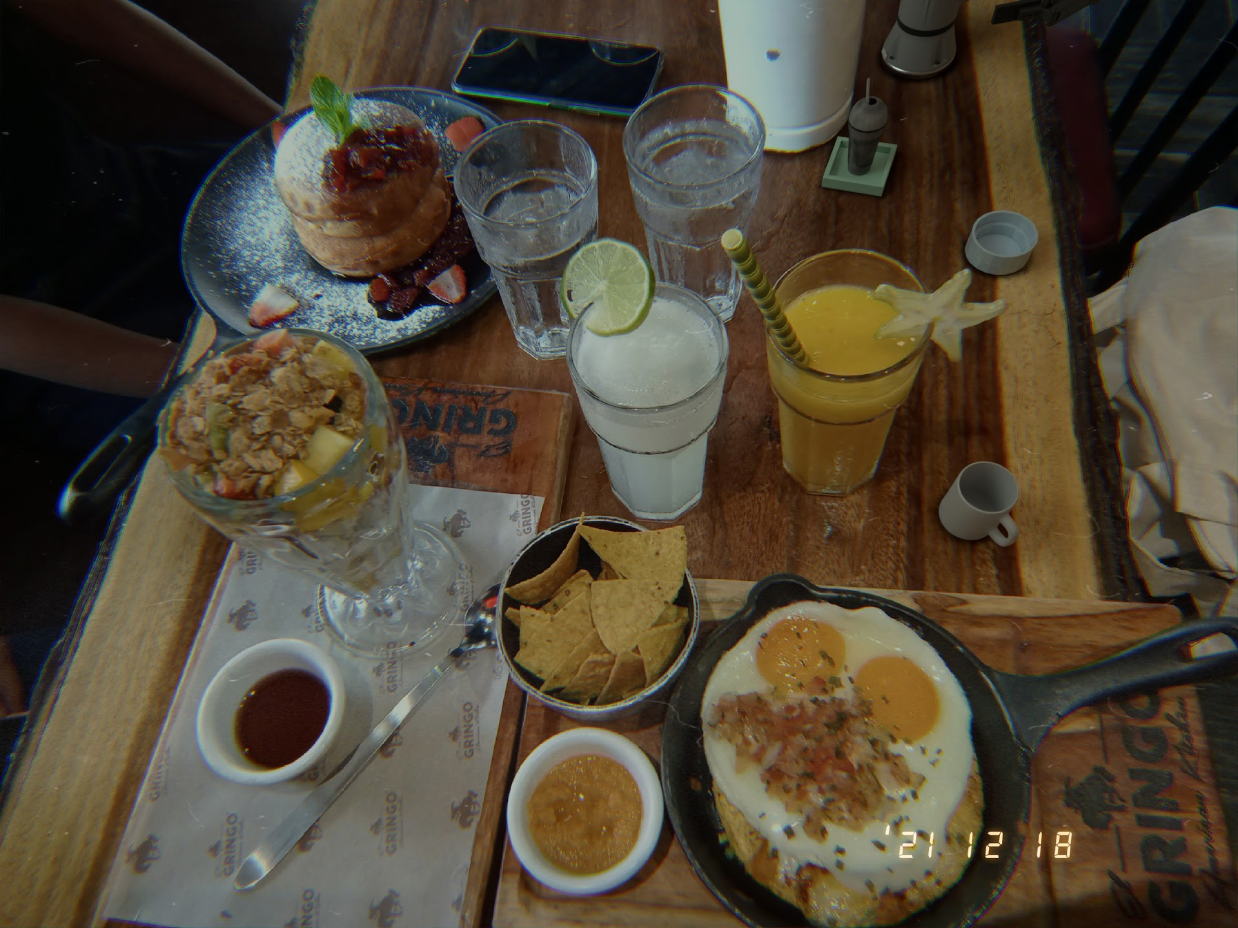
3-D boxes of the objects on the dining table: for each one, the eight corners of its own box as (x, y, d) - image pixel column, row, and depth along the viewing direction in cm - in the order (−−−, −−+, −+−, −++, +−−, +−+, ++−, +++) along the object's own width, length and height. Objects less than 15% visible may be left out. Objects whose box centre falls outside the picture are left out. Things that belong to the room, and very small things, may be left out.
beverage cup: (876, 181, 146) (895, 93, 129) (839, 180, 148) (852, 92, 130) (878, 155, 149) (897, 65, 132) (841, 154, 151) (855, 65, 133)
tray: (836, 145, 153) (837, 136, 151) (895, 154, 150) (897, 144, 148) (821, 186, 149) (822, 177, 147) (881, 196, 146) (883, 187, 143)
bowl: (970, 225, 139) (978, 205, 135) (1032, 236, 136) (1042, 216, 132) (959, 269, 135) (966, 250, 131) (1023, 281, 132) (1033, 262, 128)
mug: (926, 506, 117) (944, 477, 107) (971, 481, 117) (993, 450, 107) (976, 569, 111) (999, 544, 101) (1023, 542, 112) (1051, 516, 102)
